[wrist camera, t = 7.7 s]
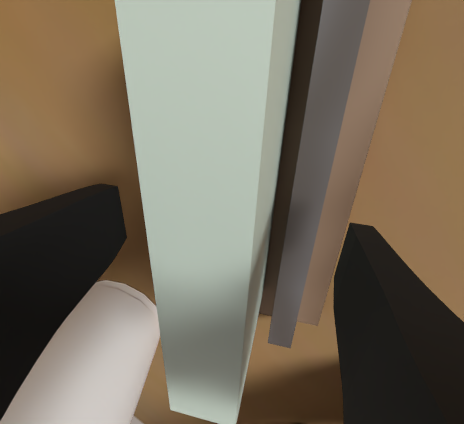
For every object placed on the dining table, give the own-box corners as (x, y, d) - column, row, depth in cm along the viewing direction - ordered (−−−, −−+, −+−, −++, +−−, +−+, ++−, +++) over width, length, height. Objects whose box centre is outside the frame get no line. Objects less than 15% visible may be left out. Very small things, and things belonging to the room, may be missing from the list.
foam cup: (42, 287, 23) (-193, 515, 13) (115, 242, 19) (-150, 533, 8) (128, 363, 26) (-3, 601, 15) (209, 339, 22) (104, 648, 11)
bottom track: (440, -122, 8) (481, -170, 6) (317, 314, 18) (317, 354, 16) (138, -113, 10) (90, -149, 8) (173, 284, 20) (155, 317, 18)
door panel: (306, -36, 9) (287, -125, 4) (263, 288, 17) (235, 428, 11) (227, -38, 10) (98, -118, 4) (219, 280, 17) (170, 409, 12)
